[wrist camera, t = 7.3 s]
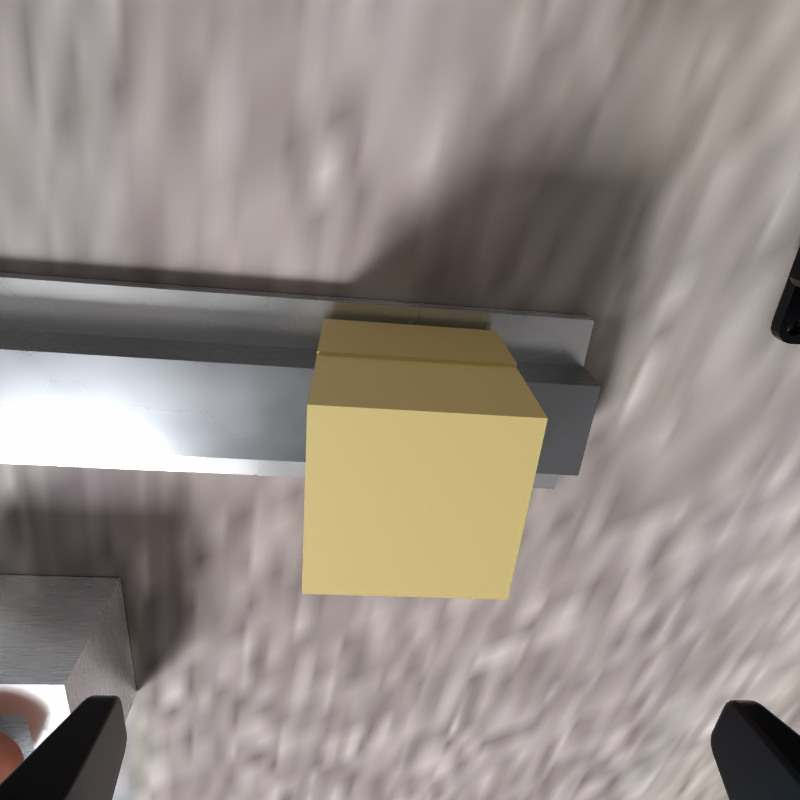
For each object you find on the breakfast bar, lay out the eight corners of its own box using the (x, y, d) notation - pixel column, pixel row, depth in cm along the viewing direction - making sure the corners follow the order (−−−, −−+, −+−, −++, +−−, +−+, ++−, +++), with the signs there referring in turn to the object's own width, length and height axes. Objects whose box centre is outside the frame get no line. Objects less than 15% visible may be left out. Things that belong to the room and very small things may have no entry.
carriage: (496, 330, 17) (548, 414, 12) (471, 481, 19) (507, 602, 15) (323, 318, 17) (307, 400, 12) (317, 474, 19) (301, 596, 14)
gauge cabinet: (120, 578, 21) (63, 685, 17) (136, 692, 24) (90, 809, 20) (-56, 572, 21) (-157, 681, 17) (-20, 690, 23) (-101, 810, 19)
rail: (588, 315, 18) (613, 337, 16) (549, 480, 21) (568, 515, 19) (-189, 258, 16) (-258, 276, 14) (-127, 448, 19) (-179, 483, 17)
